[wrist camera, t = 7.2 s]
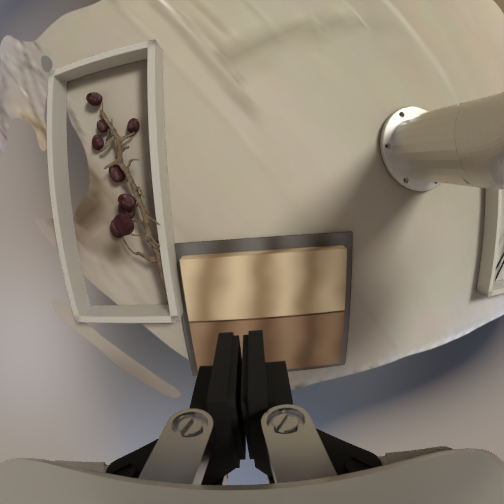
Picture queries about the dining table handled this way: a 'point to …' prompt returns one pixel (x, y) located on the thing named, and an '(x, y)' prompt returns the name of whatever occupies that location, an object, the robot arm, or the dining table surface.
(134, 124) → the decorative branch
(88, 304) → the branch tray
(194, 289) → the oak plank
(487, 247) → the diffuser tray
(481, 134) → the robot arm
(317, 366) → the walnut floor board
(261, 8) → the dining table surface
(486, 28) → the dining table surface
